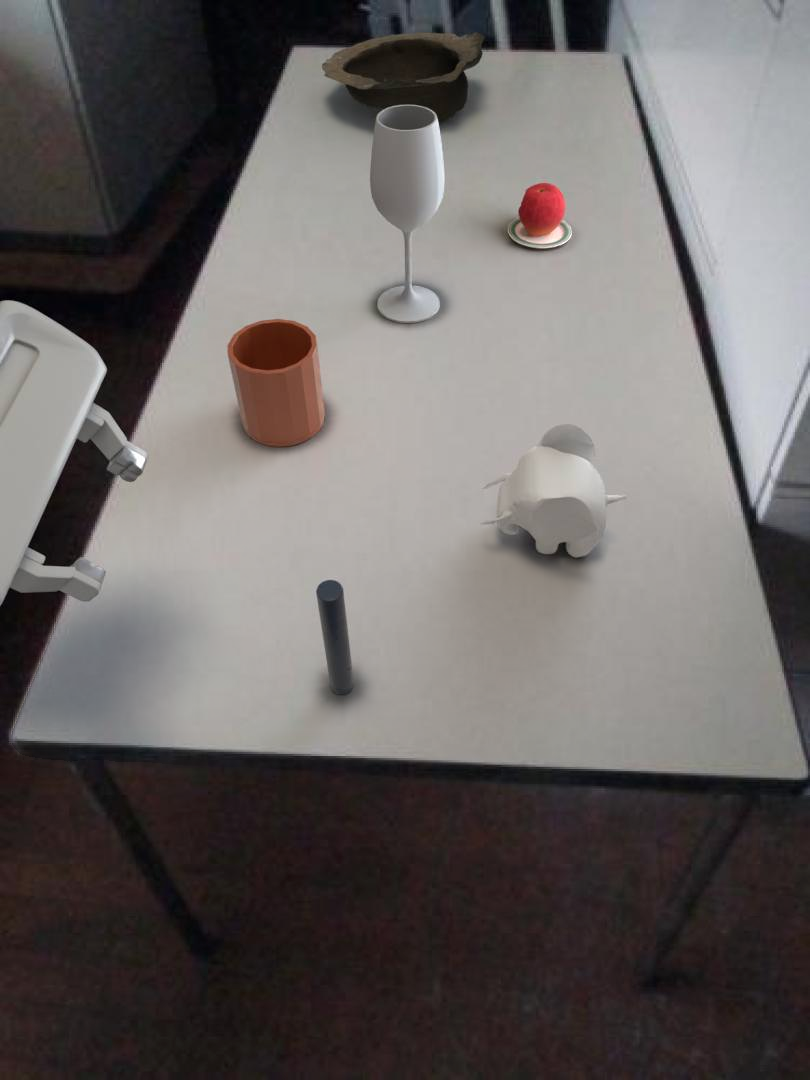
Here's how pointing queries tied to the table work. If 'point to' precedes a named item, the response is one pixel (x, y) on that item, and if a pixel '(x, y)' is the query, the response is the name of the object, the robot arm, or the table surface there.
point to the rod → (335, 635)
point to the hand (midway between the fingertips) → (120, 525)
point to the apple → (541, 218)
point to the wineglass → (407, 194)
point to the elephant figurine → (555, 494)
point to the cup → (277, 381)
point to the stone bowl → (409, 70)
